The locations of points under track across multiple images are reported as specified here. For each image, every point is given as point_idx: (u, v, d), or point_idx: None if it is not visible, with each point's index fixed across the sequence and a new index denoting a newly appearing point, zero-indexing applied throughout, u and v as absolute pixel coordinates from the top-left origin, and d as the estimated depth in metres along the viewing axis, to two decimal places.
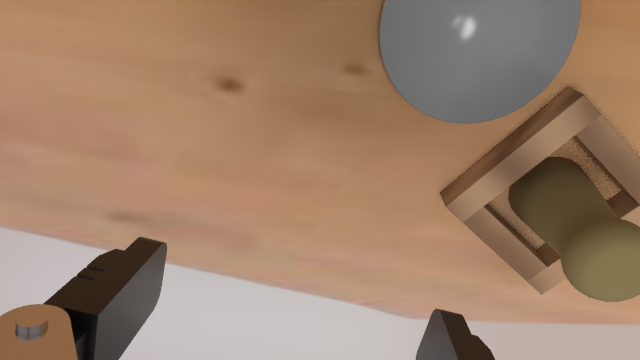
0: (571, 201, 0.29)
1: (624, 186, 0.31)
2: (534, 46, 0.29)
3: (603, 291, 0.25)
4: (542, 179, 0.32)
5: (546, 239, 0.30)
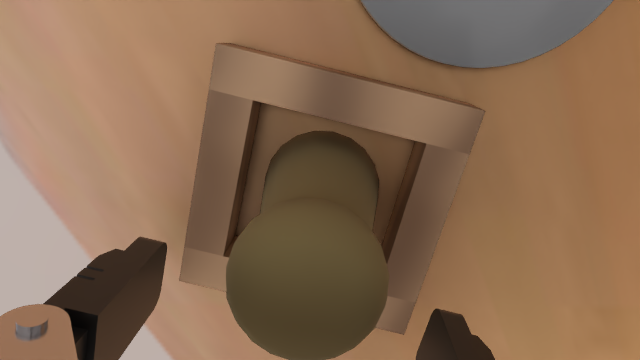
0: (347, 187, 0.17)
1: (390, 257, 0.21)
2: (509, 7, 0.19)
3: (254, 302, 0.12)
4: (340, 151, 0.20)
5: (267, 200, 0.17)
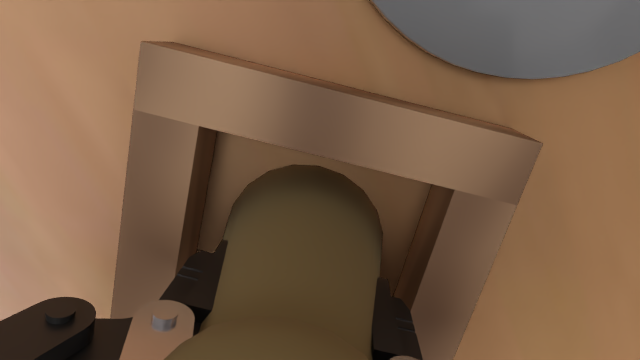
0: (337, 270, 0.10)
1: None
2: None
3: None
4: (328, 200, 0.13)
5: None
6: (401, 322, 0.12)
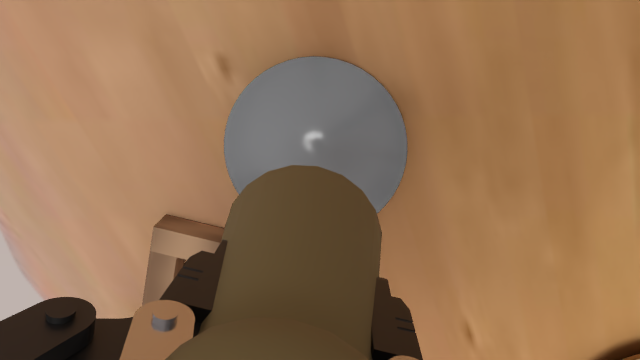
0: (336, 271, 0.10)
1: None
2: None
3: None
4: (327, 200, 0.13)
5: None
6: (401, 322, 0.12)
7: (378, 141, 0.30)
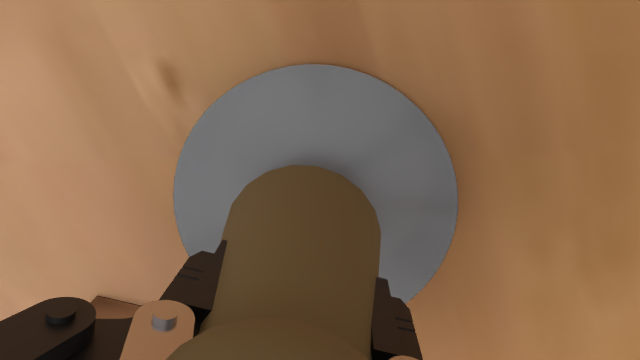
0: (336, 271, 0.10)
1: None
2: None
3: None
4: (327, 200, 0.13)
5: None
6: (401, 322, 0.12)
7: (412, 195, 0.19)
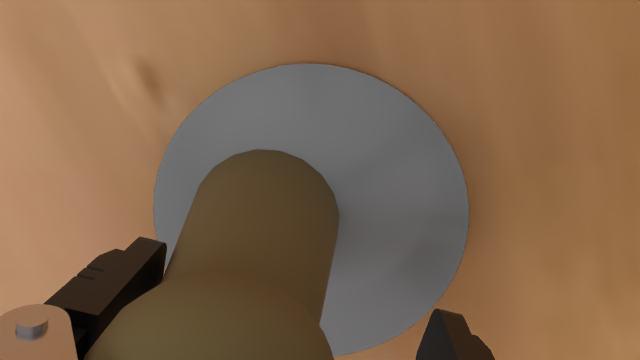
0: (288, 240, 0.12)
1: None
2: (332, 309, 0.19)
3: None
4: (286, 180, 0.15)
5: (173, 255, 0.12)
6: None
7: (418, 210, 0.17)
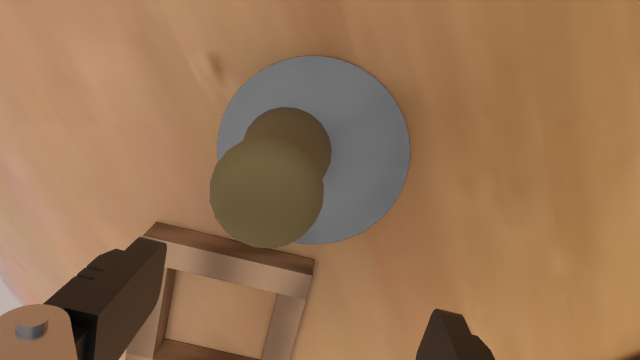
0: (301, 139, 0.23)
1: (262, 359, 0.32)
2: (327, 211, 0.30)
3: (229, 198, 0.18)
4: (300, 119, 0.26)
5: None
6: None
7: (379, 145, 0.28)
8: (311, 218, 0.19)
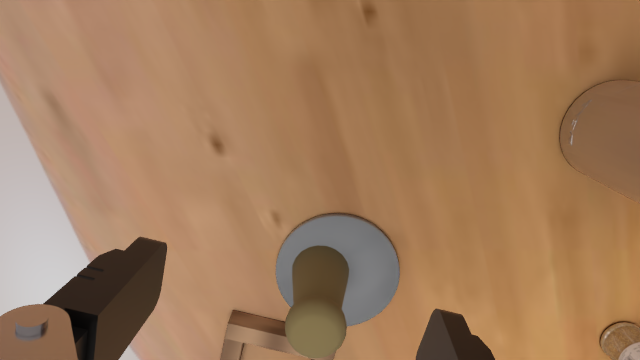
0: (332, 284, 0.39)
1: None
2: (346, 306, 0.46)
3: (297, 336, 0.35)
4: (330, 260, 0.42)
5: (297, 288, 0.39)
6: None
7: (380, 268, 0.44)
8: (340, 344, 0.35)
